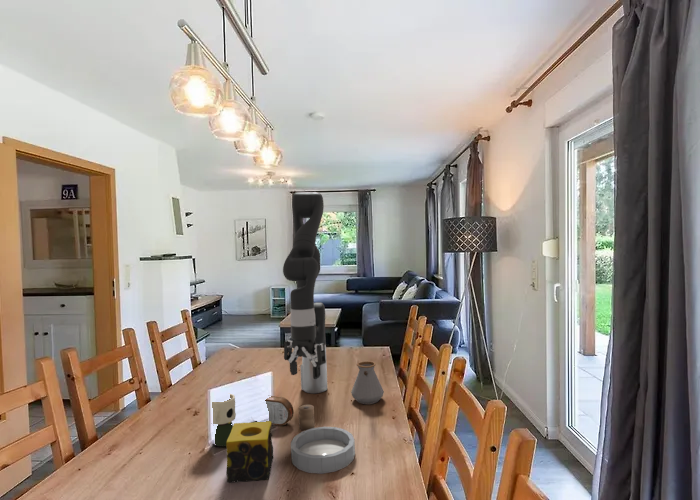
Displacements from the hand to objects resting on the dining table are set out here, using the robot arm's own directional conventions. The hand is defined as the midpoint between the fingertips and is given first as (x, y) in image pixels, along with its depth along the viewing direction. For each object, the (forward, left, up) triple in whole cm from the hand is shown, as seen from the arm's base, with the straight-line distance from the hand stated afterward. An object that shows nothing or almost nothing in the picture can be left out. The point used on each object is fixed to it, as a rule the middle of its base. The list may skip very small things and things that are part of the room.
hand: (305, 376), depth 121 cm
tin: (-12, -3, -16) cm, 20 cm away
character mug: (-15, -19, -16) cm, 29 cm away
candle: (+2, -25, -16) cm, 30 cm away
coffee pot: (+8, +22, -16) cm, 29 cm away
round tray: (+14, -11, -16) cm, 24 cm away
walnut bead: (0, 0, -16) cm, 16 cm away
